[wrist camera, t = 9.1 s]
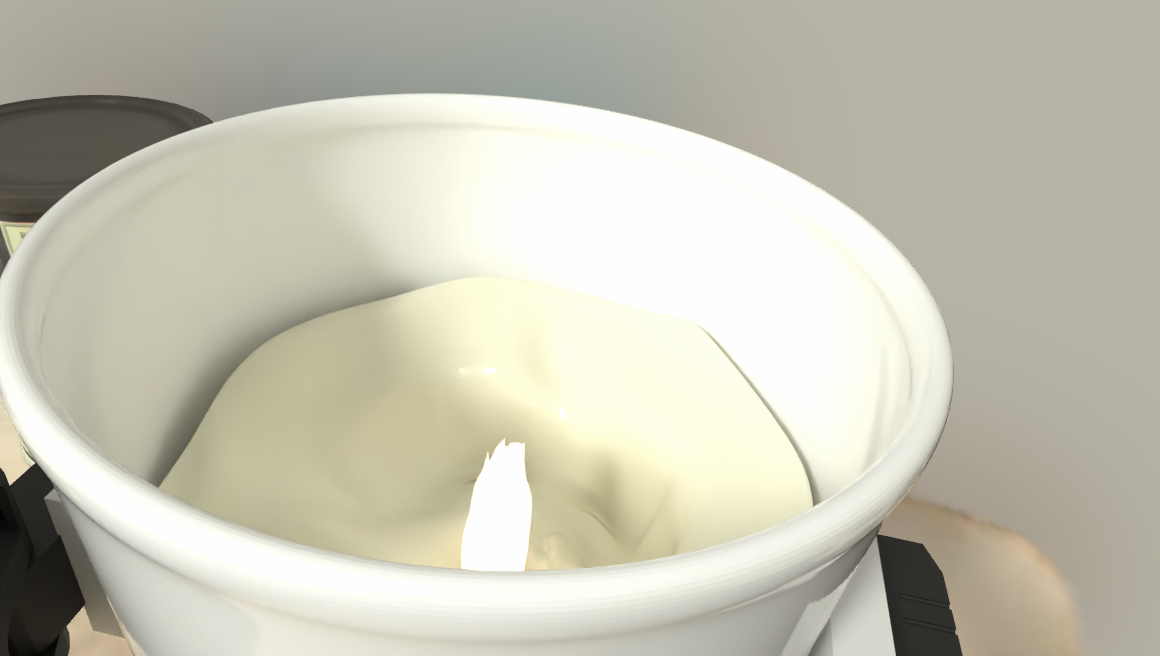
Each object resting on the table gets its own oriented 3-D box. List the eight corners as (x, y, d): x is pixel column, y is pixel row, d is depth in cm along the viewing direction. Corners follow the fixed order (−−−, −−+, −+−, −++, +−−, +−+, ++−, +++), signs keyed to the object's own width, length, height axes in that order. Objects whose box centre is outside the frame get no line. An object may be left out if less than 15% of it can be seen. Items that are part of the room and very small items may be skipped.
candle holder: (296, 1326, 10) (34, 952, 3) (151, 687, 17) (-35, 126, 10) (829, 878, 15) (1154, 361, 8) (555, 521, 21) (614, 72, 15)
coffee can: (186, 331, 44) (135, 77, 37) (302, 416, 40) (272, 147, 32) (-23, 416, 37) (-142, 125, 30) (87, 533, 33) (-20, 222, 25)
